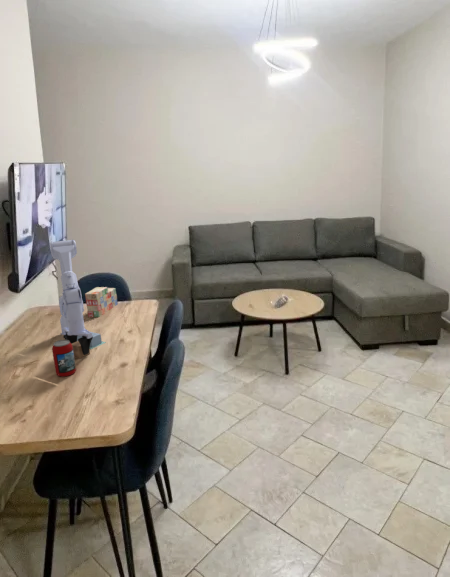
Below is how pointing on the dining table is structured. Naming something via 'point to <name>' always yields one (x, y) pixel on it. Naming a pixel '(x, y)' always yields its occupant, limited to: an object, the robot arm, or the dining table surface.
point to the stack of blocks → (100, 301)
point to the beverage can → (63, 358)
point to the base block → (94, 339)
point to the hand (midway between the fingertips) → (80, 352)
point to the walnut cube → (78, 350)
